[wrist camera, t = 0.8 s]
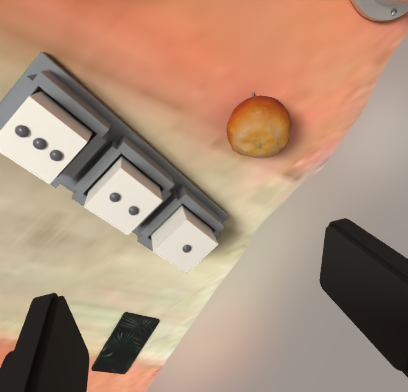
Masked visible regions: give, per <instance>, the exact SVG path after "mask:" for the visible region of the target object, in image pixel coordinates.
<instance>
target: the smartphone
mask: <svg viewBox="0 0 408 392" xmlns="http://www.w3.org/2000/svg"><path fill="white" fill-rule="evenodd" d="M158 323H159V319H156V318H152V317H147V316H142V315H138V314H133V313H128V312H125V313H124V314H123V315H122V317H121V319H120V320H119V322H118V324H117V326H116V327H115V329H114V331H113V332H112V334H111V336H110V337H109V339H108V341H107V342H106V344H105V345H104V347H103V349H102V351H101V352H100V354H99V356H98V358H97V359H96V361H95V363H94V364H93V366H92V371H100V372H109V373H118V374H125V373H126V372H127V371H128V369H129V367H130V366H131V364H132V363H133V361H134V360H135V358H136V357H137V355H138V354H139V352H140V350H141V349H142V347H143V346H144V344H145V343H146V341H147V340H148V338H149V337H150V335H151V333H152V332H153V330H154V329H155V327H156V326H157V324H158Z"/></svg>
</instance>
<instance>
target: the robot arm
mask: <svg viewBox="0 0 408 392" xmlns="http://www.w3.org/2000/svg"><path fill="white" fill-rule="evenodd" d="M351 2H352V4H353V6H354V7H355V9H356V10H357V11H358V12H359V13H360V14H361V15H362V16H363V17H365V18H367V19H369V20H373V21H387V20H393V19H396V18H398V17H400V16H402V15H404V14H405V13H407V12H408V0H351ZM320 284H321V287H322V289H323V290H324V291H325V292H326V293H327V294H328V295H329V297H330V298H331V299H332V300H333V301H334V302H335V303H336V304H337V305H338V306H339V307H340V308H341V310H342V311H343V312H344V313H345V314H346V315H347V316H348V317H349V318H350V319H351V321H352V322H353V323H354V324H355V325H356V326H357V327H358V328H359V329H360V331H362V333H363V334H364V335H365V336H366V337H367V338H368V339H369V340H370V342H371V343H372V344H373V345H374V346H375V347H376V348H377V349H378V350H379V351H380V352H381V354H382V355H383V356H384V357H385V358H386V359H387V360H388V361H389V362H390V363H391V365H392V366H393V367H394V368H396V369H397V370H400V371H402V372H403V373H404V374H405V375H406V376H407V377H408V259H407V258H405V257H404V256H403V255H401V254H400V253H398V252H397V251H395V250H394V249H392V248H390V247H389V246H388V245H386V244H385V243H383V242H382V241H380V240H379V239H377V238H375V237H374V236H373V235H371V234H370V233H368V232H367V231H365V230H364V229H362V228H361V227H359V226H358V225H356V224H355V223H353V222H352V221H350V220H348V219H346V218H344V219H340V220H336V221H332V222H330V224H329V226H328V227H327V228H326V231H325V239H324V248H323V256H322V265H321V273H320ZM88 370H89V353H88V349H87V347H86V345H85V343H84V340H83V338H82V336H81V334H80V331H79V329H78V327H77V325H76V322H75V320H74V318H73V316H72V313H71V311H70V309H69V307H68V304H67V302H66V300H65V298H64V296H59V297H58V295H57V294H56V293H52V294H48V295H44V296H40V297H36V298H34V299H33V301H32V303H31V305H30V308H29V311H28V314H27V316H26V319H25V322H24V325H23V327H22V330H21V333H20V336H19V338H18V341H17V344H16V347H15V349H14V351H11V352H9V353H8V354H7V355H6V357H5V359H4V361H3V363H2V366H1V368H0V392H86V391H87V381H88Z"/></svg>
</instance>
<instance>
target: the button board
mask: <svg viewBox="0 0 408 392" xmlns="http://www.w3.org/2000/svg"><path fill="white" fill-rule="evenodd" d="M41 91H42V92H43V93H45V94H46V95H47V96H48V97H49V98H51V99H52V100H53V101H54V102H56V103H57V104H58V105H59V106H61V107H62V108H63V109H64V110H66V111H67V112H68V113H69V114H70V115H72V116H73V117H74V118H75V119H77V120H78V121H79V122H80V123H82V124H83V125H84V126H85V127H87V128H88V129H89V130H90V131H91V132H93V133H92V135H91V137H90V139H89V141H88V142H87V143H86V145H85V146H84V147H83V148H82V149H81V150H80V151H79V152H78V153H77V155H76V156H75V157H74V158H73V159H72V160H71V161H70V162H69V163H68V165H67V166H66V167H65V168H64V169H63V170H62V171H61V172H60V173H59V175H58V176H57V177H56V178H55V179H54V180H53V181H52V182H51V183H50V184H51V185H52V186H54V187H55V188H56V187H57V186H58V185H59V184H61V185H63V186H64V187H66V188H67V189H69V190H70V191H72V192H73V193H74V194H73V196H72V199H74V200H75V201H77V202H78V203H80V204H81V205H83V206H84V204H85V201H86V198H87V195H88V191H89V190H90V189H91V188H92V187H93V186H94V185H95V184H96V183H97V182H98V181H99V180H100V178H101V177H102V176H103V175H104V174H105V173H106V172H107V171H108V170H109V169H110V168H111V167H112V166H113V165H114V164H115V163H116V161H117V160H118V159H119V158H120V157H121V156H122V157H124V158H125V159H126V160H127V161H128V162H130V163H131V164H132V165H133V166H135V167H136V168H137V169H138V170H140V171H141V172H142V173H143V174H145V175H146V176H147V177H148V178H149V179H151V180H152V181H153V182H154V183H156V184H157V185H158V186H159V187H160V191H161V195H162V200H163V201H162V202H161V203H160V204H159V205H158V206H157V207H156V208H155V209H154V210H153V211H152V212H151V213H150V214H149V215H148V216H147V217H146V218H145V219H144V220H143V221H142V222H141V223H140V224H139V225H138V226H137V227H136V228H135V229H134V230H133V231H132V232H133V233H135V234H136V235H137V237H138V242H140V243H141V244H143V245H144V246H146V247H147V248H149V249H150V250H152V251H153V247H152V238H151V234H152V233H153V232H154V231H155V230H156V229H157V228H158V227H159V226H160V225H161V224H162V223H163V222H164V221H165V220H166V219H167V218H168V217H169V216H170V215H171V214H172V213H173V212H174V211H175V210H177V209H178V208H179V207H180V206H181V205H183V206H184V207H185V208H187V209H188V210H189V211H190V212H191V213H193V214H194V215H195V216H196V217H198V218H199V219H200V220H201V221H203V222H204V223H205V224H206V225H208V226H209V227H210V228H211V230H212V232H213V234H214V236H215V238H216V239H217V238H218V237H219V236H221V233H220V231H221V230H222V229H223V228H224V225H223V222H224V221H225V220H226V219H227V218H228V215H227V213H226V212H225V211H223V210H222V209H221V208H220V207H219V206H218V205H217V204H215V203H214V202H213V201H212V200H211V199H210V198H209V197H208V196H206V195H205V194H204V193H203V192H202V191H201V190H200V189H198V188H197V187H196V186H195V185H194V184H193V183H192V182H191V181H189V180H188V179H187V178H186V177H185V176H184V175H183V174H182V173H180V172H179V171H178V170H177V169H176V168H175V167H174V166H172V165H171V164H170V163H169V162H168V161H167V160H166V159H165V158H163V157H162V156H161V155H160V154H159V153H158V152H157V151H155V150H154V149H153V148H152V147H151V146H150V145H149V144H148V143H146V142H145V141H144V140H143V139H142V138H141V137H140V136H139V135H137V134H136V133H135V132H134V131H133V130H132V129H131V128H129V127H128V126H127V125H126V124H125V123H124V122H123V121H122V120H120V119H119V118H118V117H117V116H116V115H115V114H114V113H113V112H111V111H110V110H109V109H108V108H107V107H106V106H105V105H103V104H102V103H101V102H100V101H99V100H98V99H97V98H96V97H94V96H93V95H92V94H91V93H90V92H89V91H88V90H86V89H85V88H84V87H83V86H82V85H81V84H80V83H79V82H77V81H76V80H75V79H74V78H73V77H72V76H71V75H70V74H68V73H67V72H66V71H65V70H64V69H63V68H62V67H60V66H59V65H58V64H57V63H56V62H55V61H54V60H53V59H51V58H50V57H49V56H48V55H47V54H46V53H45V52H40V54H39V55H38V56H37V57H36V58H35V60H34V61H33V62H32V63H31V65H30V66H29V67H28V68H27V70H26V71H25V72H24V73H23V75H22V76H21V77H20V78H19V79H18V81H17V82H16V83H15V84H14V86H13V87H12V88H11V89H10V91H9V92H8V93H7V94H6V96H5V97H4V98H3V99H2V100H1V102H0V130H1V129H2V128H3V127H4V126H5V124H6V123H7V122H8V121H9V120H10V118H11V117H12V116H13V115H14V114H15V112H16V111H17V110H18V109H19V108H20V106H21V105H22V104H23V103H24V101H25V100H26V99H27V98H28V97H29V96H30V95H33V94H36V93H38V92H41Z"/></svg>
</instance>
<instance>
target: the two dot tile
mask: <svg viewBox="0 0 408 392" xmlns="http://www.w3.org/2000/svg"><path fill="white" fill-rule="evenodd" d="M162 201H163V200H162V195H161V191H160V187H159V186H158V185H157V184H156V183H154V182H153V181H152V180H151V179H149V178H148V177H147V176H146V175H145V174H143V173H142V172H141V171H140V170H138V169H137V168H136V167H135V166H133V165H132V164H131V163H130V162H128V161H127V160H126V159H125V158H124V157H122V156H121V157H120V158H119V159H118V160H117V161H116V163H115V164H114V165H113V166H112V167H111V168H110V169H109V170H108V171H107V172H106V173H105V174H104V175H103V176H102V177H101V178H100V180H99V181H98V182H97V183H96V184H95V185H94V186H93V187H92V188H91V189H90V190H89V191H88V195H87V198H86V201H85V204H84V207H85V208H86V209H88V210H89V211H91V212H92V213H94V214H95V215H97V216H98V217H100V218H102V219H103V220H105V221H106V222H108V223H109V224H111V225H112V226H114V227H115V228H117V229H118V230H120V231H122V232H123V233H125V234H126V235H129V234H130V233H131V232H132V231H133V230H134V229H135V228H136V227H137V226H138V225H139V224H140V223H141V222H142V221H143V220H144V219H145V218H146V217H147V216H148V215H149V214H150V213H151V212H152V211H153V210H154V209H155V208H156V207H157V206H158V205H159V204H160V203H161V202H162Z"/></svg>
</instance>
